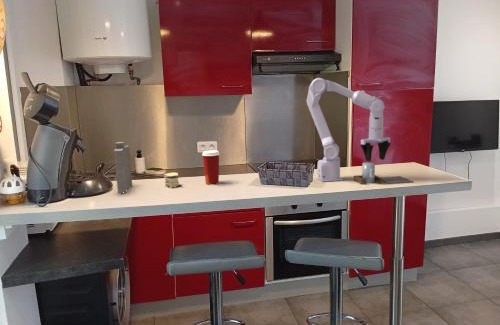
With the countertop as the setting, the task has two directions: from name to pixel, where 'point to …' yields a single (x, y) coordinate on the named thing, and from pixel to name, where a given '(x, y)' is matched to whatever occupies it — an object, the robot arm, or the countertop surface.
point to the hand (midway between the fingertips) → (375, 160)
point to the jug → (368, 172)
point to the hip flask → (122, 167)
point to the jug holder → (361, 181)
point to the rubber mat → (395, 180)
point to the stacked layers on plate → (171, 179)
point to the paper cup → (211, 166)
